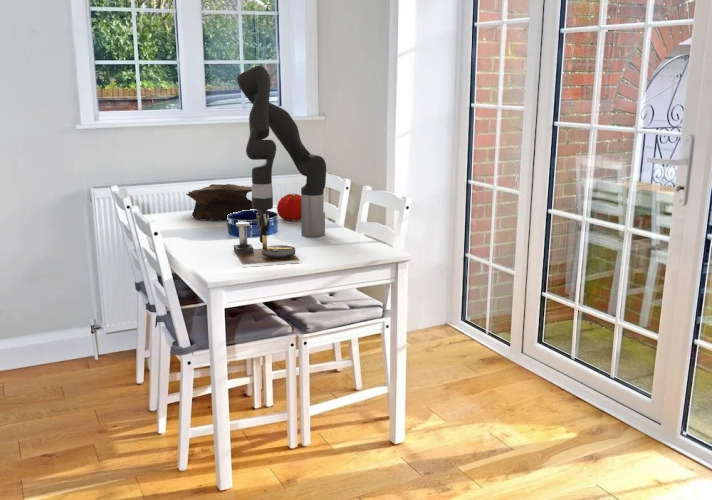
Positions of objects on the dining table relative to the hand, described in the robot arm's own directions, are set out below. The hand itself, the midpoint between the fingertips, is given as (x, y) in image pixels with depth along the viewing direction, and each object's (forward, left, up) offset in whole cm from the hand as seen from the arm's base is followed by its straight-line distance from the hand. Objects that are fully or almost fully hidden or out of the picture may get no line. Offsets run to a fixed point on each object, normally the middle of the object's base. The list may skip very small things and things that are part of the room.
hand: (263, 242), depth 258 cm
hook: (+7, -4, -4) cm, 9 cm away
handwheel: (-4, +6, -3) cm, 8 cm away
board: (0, +3, -5) cm, 6 cm away
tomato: (-25, -60, -6) cm, 65 cm away
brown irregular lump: (+3, -80, -6) cm, 81 cm away
